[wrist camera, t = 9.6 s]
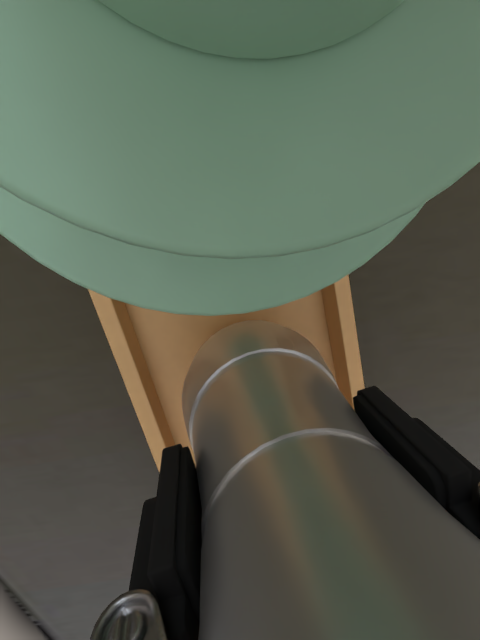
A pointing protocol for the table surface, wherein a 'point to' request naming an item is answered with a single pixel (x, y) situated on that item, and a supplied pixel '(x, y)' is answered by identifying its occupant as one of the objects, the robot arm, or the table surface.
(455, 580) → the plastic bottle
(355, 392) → the tray
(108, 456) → the table surface
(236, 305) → the sage bottle
